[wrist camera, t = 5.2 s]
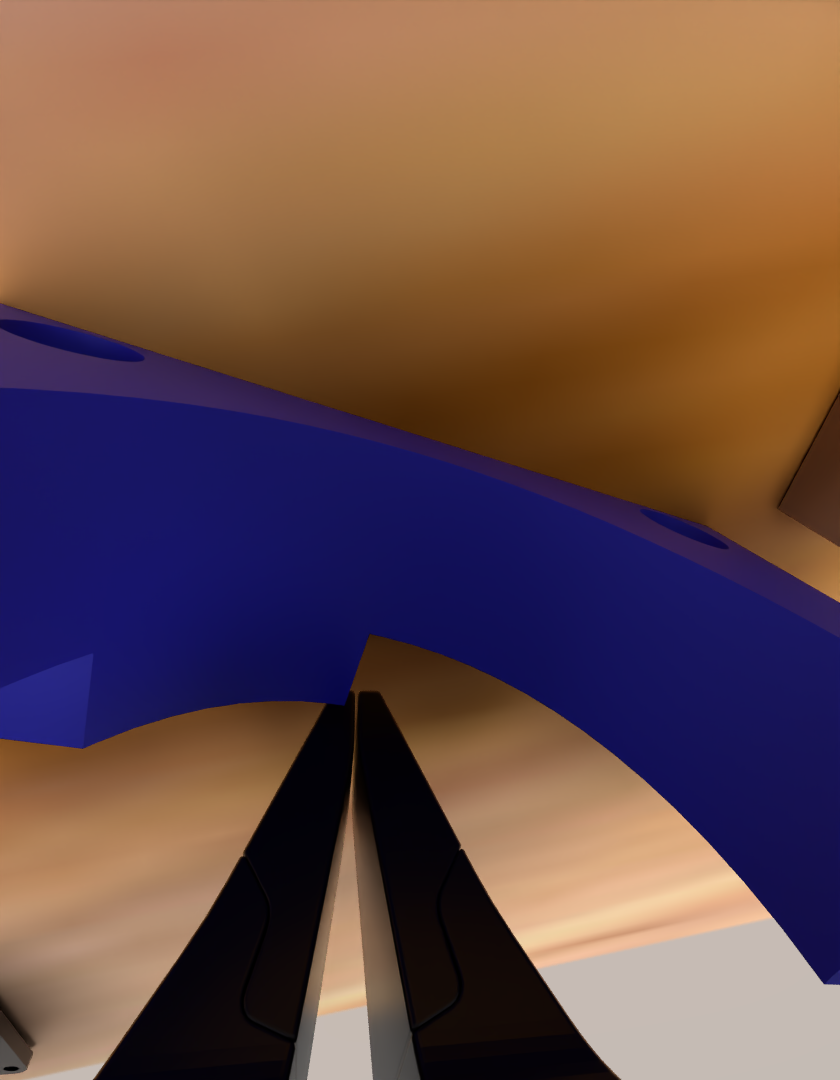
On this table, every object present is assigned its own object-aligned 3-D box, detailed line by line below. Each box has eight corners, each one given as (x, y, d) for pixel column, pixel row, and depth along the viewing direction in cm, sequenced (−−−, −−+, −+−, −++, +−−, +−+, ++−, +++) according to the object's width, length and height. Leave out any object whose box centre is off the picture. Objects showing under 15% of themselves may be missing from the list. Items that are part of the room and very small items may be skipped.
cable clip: (-6, 585, 8) (-688, 1102, 3) (0, 302, 7) (-1550, 228, 1) (600, 700, 11) (839, 1058, 6) (704, 524, 10) (1164, 789, 4)
